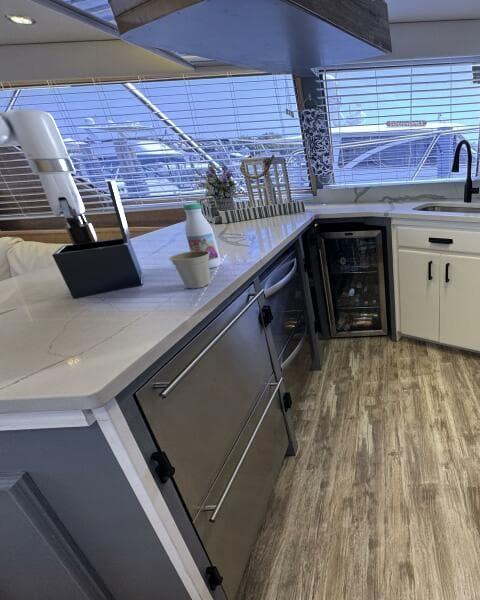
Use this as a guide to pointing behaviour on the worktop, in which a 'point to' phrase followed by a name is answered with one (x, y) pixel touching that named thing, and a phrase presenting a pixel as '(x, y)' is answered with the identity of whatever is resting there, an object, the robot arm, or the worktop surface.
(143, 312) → the worktop surface
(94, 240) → the block
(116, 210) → the bin lid
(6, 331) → the worktop surface
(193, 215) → the milk bottle
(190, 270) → the flower pot
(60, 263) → the bin
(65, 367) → the worktop surface
